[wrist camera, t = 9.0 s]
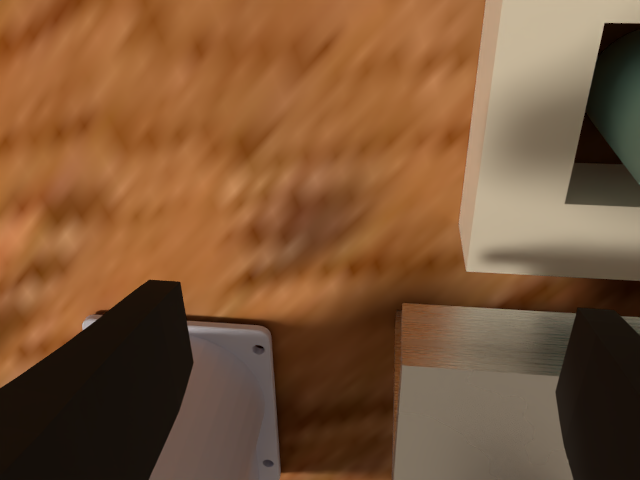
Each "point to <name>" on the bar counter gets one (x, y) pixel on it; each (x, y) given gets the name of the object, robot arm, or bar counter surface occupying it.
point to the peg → (618, 99)
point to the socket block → (544, 149)
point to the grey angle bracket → (479, 393)
